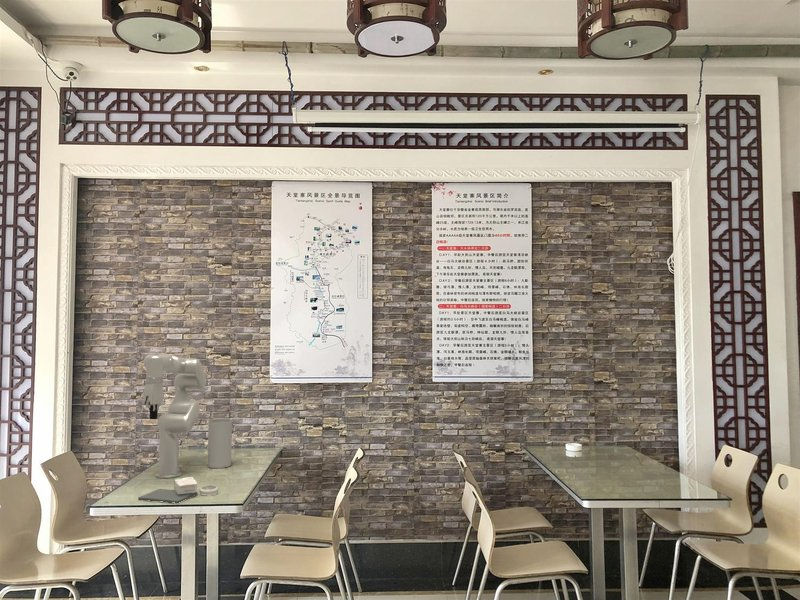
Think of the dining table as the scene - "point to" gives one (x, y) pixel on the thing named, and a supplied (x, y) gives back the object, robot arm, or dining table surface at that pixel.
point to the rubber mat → (166, 496)
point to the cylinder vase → (219, 443)
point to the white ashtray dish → (208, 490)
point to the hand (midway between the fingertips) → (153, 418)
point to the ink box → (185, 485)
